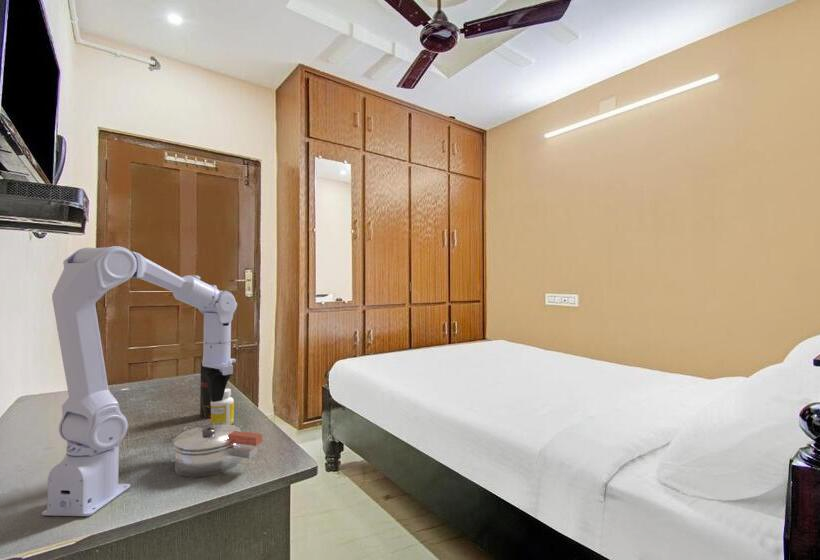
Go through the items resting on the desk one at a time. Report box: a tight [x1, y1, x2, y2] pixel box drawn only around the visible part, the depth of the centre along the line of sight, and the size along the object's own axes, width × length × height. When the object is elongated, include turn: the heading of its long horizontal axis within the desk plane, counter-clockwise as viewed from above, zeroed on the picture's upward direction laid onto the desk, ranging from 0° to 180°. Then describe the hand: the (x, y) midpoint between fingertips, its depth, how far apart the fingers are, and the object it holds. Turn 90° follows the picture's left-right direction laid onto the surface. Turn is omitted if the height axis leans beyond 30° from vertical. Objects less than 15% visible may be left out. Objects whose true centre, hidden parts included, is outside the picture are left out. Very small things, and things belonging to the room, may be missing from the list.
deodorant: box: [199, 361, 211, 419], centre depth 114 cm, size 6×6×15 cm
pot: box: [171, 437, 258, 479], centre depth 83 cm, size 20×13×5 cm, turn 74°
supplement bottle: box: [210, 388, 235, 426], centre depth 104 cm, size 5×5×10 cm
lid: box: [174, 424, 263, 451], centre depth 83 cm, size 18×12×2 cm
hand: (216, 400), depth 92 cm, fingers closed
